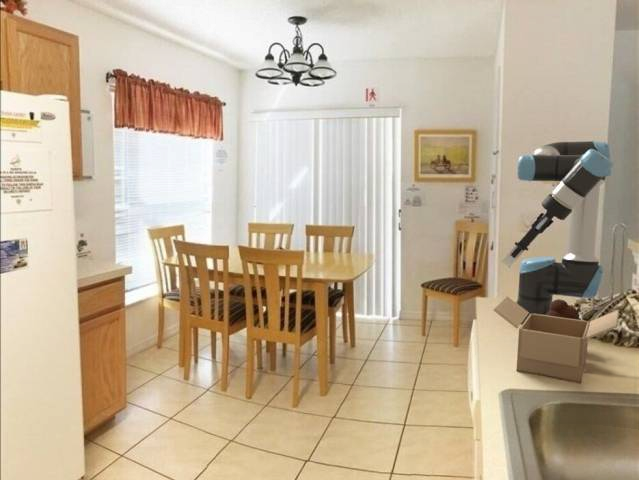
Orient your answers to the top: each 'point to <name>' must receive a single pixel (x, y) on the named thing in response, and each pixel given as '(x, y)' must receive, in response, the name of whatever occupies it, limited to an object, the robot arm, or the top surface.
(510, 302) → the carton flap
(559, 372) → the carton
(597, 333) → the carton flap
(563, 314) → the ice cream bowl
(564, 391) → the top surface
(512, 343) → the top surface
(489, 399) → the top surface
